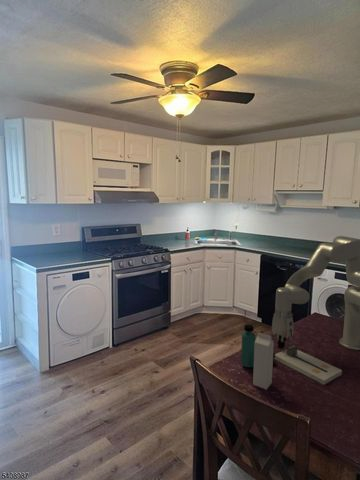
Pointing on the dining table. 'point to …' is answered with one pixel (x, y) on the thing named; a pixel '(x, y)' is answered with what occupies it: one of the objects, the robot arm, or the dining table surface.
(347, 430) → the dining table surface
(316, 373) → the slider board
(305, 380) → the dining table surface
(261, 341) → the milk
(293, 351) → the fader
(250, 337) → the beverage bottle
